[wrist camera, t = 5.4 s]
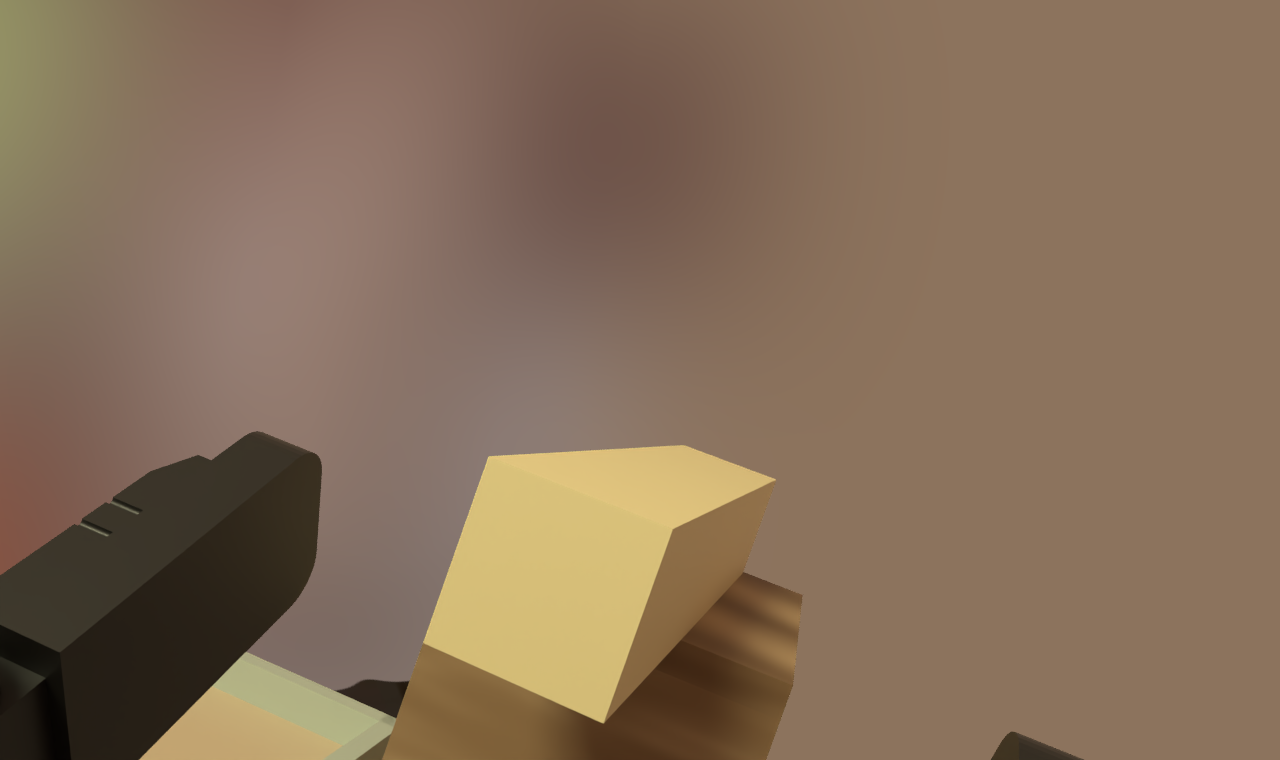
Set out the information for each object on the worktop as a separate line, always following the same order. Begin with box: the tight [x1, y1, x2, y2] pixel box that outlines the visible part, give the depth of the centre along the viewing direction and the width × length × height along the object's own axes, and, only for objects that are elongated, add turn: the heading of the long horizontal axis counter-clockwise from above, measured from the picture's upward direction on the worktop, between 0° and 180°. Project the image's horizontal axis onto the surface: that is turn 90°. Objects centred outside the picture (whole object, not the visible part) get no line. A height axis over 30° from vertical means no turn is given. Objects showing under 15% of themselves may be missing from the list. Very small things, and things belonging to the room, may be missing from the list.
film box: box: [423, 445, 776, 724], centre depth 31 cm, size 22×4×4 cm, turn 167°
